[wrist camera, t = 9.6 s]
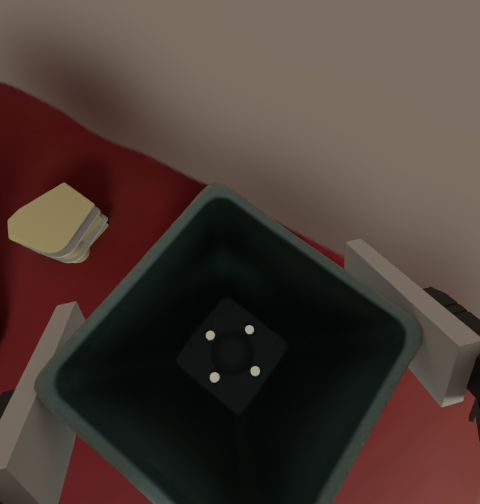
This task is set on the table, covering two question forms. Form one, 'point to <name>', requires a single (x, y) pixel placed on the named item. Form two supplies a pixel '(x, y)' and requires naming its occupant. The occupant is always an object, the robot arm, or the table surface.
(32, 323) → the table surface
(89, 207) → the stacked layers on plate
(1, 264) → the table surface
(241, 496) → the flower pot
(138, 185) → the table surface
